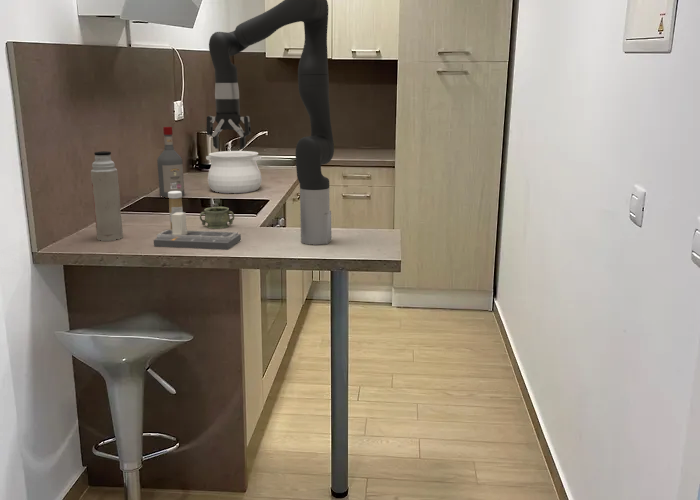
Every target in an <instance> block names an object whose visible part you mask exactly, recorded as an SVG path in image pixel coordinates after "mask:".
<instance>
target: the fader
mask: <svg viewBox="0 0 700 500" xmlns="http://www.w3.org/2000/svg"><path fill="white" fill-rule="evenodd" d="M171 218H172V233H173V234H172V235H187V234H188V233H187V230H188V229H187V214H186V212H183V213H182V212H176V213H174V214H172V215H171Z"/></svg>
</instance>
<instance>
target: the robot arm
mask: <svg viewBox="0 0 700 500" xmlns="http://www.w3.org/2000/svg"><path fill="white" fill-rule="evenodd" d="M299 22H300V23H303V27H304V28H303V29H304V30H303V31H304V44H303V48H302V51H301V55H300V58H299V62H298V66H297V67H298V68H297V83H298V85H297V87H298V92H299V93H298V94H299V96H300V99H301V101H302V104H303V105H304V108H305V109H306V112H307V114H308V117H309V121H310V135H309V136H308V135H307V136H303V137H302V138H299V140H298V141H297V143H296V147H295V165H296V166H295V168H296V177H297V181H298V183H299V204H300V205H299V208H300V209H299V210H300V214H299V215H300V217H299V218H300V221H299V222H300V242H301V243H302V244H304V243H305V245H310V244H313V245H314V246H315V245H316V246H317V245H328V244H329V243H330V242H331V241H332V210H331V209H330V204H331V203H330V199H331V198H330V178H328V177H326V176H324V175H323V173H322V166H323V165H327V164H329V163H330V162H331V161H332V159H333V157H334V152H335V146H334V138H333V137H334V136H333V130H332V123H331V109H330V108H331V107H330V82H329V81H330V80H329V79H330V78H329V77H330V76H329V62H328V61H329V59H328V56H329V55H328V27H329V2H328V0H282V1H281V2H279V3H278V4H276V5H275V6H273V7H271V8H270V9H268V10H266V11H264V12H262V13H261V14H258V15H256V16H253V17H252V18H249V19H247V20H246V21H243V22H241V23H239V24H238V25H237V26H236V27H235V29H234V30H232V31H229V32H227V31H226V32H225V31H215V32H214V33H212V35H211V36H210V38H209V41H208V49H209V55H210V58H211V61H212V66H213V68H214V81H215V82H214V83H215V87H214V98H215V100H214V101H215V116H212V115H207V116H206V135H207V136H211V137H212V145H213V147H214V149H217V150H218V149H220V136H219V135H220V133H221V132H222V131H223V130H224V131H226V130H229V131H233V130H234V131H235V132H236V133H237V134H238V135H239V148H240V149H239V150H244V149H245V148H246V146H247V142H246V141H247V140H246V137H247V136H250V135H251V134H252V125H251V117H250V116H249V115H246V116H241V113H240V112H241V108H240V106H241V105H240V90H239V89H240V88H239V81H238V80H239V79H238V68H237V65H235V64H234V63H232V62H231V57H230V56H235V55H237V54H240V53H241V52H243V51H244V50H246V49H247V48H249V47H250V46H252V45H255V44H258V43H259V42H261V41H263V40H266V39H268V38H269V37H270V36H271V35H273V34H274V33H275V32H277V31H278V30H279V29H281V28H283V27H285V26H287V25H291V24H296V23H299ZM215 122H216V123H217V125H216V127H215V129H214V123H215ZM241 122H242V123H243V124H244V130H243V128H242V126H241V125H240V123H241ZM313 245H312V246H313Z"/></svg>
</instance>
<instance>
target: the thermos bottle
mask: <svg viewBox="0 0 700 500" xmlns="http://www.w3.org/2000/svg"><path fill="white" fill-rule="evenodd" d="M111 155H112V152H111V151H95V152H94V161H93V162H92V165H91V167H92V169H91V170H90V176H91V177H90V178H91V188H92V200H93V209H94V219H95V231H96V239H97V240H98V241H100V240H101V242H112V241H111V240H113V241H117V240H116V239H119V240H121V239H120V238H122V237H123V238H124V233H123V221H122V213H121V212H122V211H121V210H122V209H121V200H120V199H121V196H120V187H119V186H120V184H119V174H118V169H117V168H116V163H115V162H114V161H113V160H112V156H111ZM123 238H122V239H123Z"/></svg>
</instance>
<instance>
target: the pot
mask: <svg viewBox="0 0 700 500" xmlns="http://www.w3.org/2000/svg"><path fill="white" fill-rule="evenodd" d="M205 159H206V160H207V161H211V162H210V164H211V165H210V168H209V170H208V174H207V183H208V187H209V189H211V191H213V192H214V191H215V192H214V193H218V192H219V193H218V194H229V193H234V194H244V193H246V194H247V193H252V192H255V191H257V190H258V189H259V188H260V187H261V186H262V185H261V184H262V183H263V181H262V172H261V170H260V169H259V166H258V163H257V161H261V160H262V156H261V155H259V152H257V151H251V150H248V151H247V150H225V151H214V152H210V153H208V155H206V156H205Z"/></svg>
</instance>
